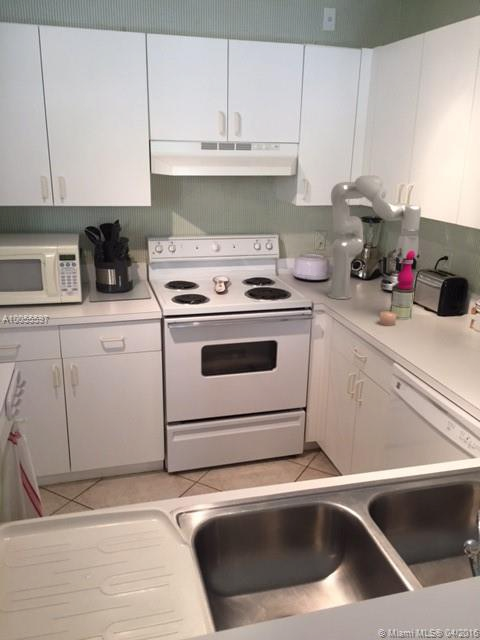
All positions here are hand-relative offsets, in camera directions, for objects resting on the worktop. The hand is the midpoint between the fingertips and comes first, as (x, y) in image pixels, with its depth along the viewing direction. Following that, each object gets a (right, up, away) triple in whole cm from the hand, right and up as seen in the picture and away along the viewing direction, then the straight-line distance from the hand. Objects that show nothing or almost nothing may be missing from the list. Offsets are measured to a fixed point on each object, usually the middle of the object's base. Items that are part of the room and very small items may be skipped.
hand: (405, 270), depth 247 cm
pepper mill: (0, -8, +2) cm, 9 cm away
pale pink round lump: (-10, -25, -4) cm, 27 cm away
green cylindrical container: (0, -22, +7) cm, 23 cm away
